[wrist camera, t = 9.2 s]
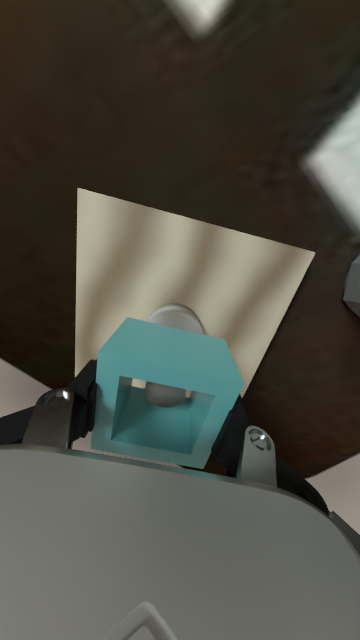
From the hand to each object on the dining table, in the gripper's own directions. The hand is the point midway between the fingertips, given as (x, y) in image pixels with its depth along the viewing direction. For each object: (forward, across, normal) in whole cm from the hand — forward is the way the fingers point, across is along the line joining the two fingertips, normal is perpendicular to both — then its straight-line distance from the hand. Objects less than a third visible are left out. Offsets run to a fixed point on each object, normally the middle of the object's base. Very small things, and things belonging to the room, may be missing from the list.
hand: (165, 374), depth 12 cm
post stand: (+8, 0, 0) cm, 8 cm away
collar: (+1, 0, 0) cm, 1 cm away
